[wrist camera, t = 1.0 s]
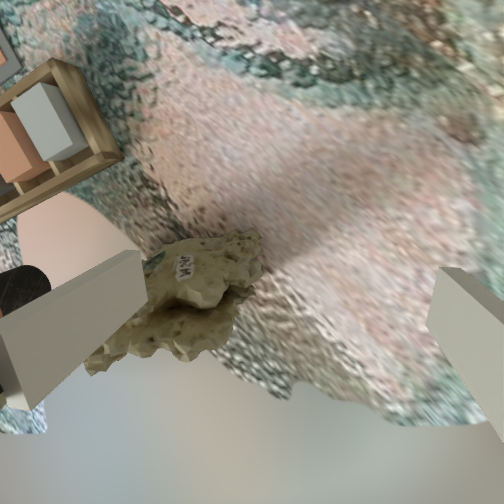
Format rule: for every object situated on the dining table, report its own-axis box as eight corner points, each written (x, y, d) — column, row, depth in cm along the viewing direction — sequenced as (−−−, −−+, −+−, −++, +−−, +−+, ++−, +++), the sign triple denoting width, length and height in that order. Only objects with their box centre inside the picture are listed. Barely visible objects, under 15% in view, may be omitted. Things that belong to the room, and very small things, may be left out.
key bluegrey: (33, 107, 35) (10, 102, 33) (61, 88, 34) (39, 82, 31) (63, 160, 37) (43, 161, 34) (91, 144, 36) (72, 143, 33)
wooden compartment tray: (-55, 159, 44) (-89, 160, 41) (78, 67, 36) (51, 57, 32) (-10, 229, 47) (-37, 235, 43) (124, 158, 39) (104, 159, 35)
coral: (135, 304, 47) (21, 403, 28) (111, 249, 44) (-33, 318, 25) (282, 277, 40) (260, 383, 21) (264, 210, 37) (221, 265, 19)
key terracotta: (-2, 131, 38) (-27, 129, 35) (23, 114, 36) (-1, 110, 33) (27, 180, 39) (6, 182, 36) (52, 166, 38) (32, 167, 35)
